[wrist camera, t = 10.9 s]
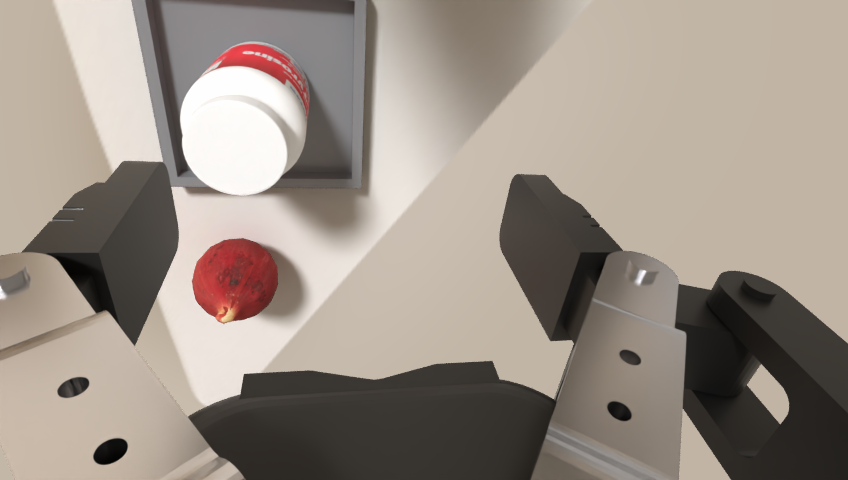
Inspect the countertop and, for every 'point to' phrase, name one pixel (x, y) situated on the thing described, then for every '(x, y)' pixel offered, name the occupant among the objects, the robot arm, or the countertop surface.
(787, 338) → the robot arm
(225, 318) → the onion
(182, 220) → the countertop surface
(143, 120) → the countertop surface
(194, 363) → the countertop surface
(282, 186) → the slate dish
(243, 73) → the pill bottle
